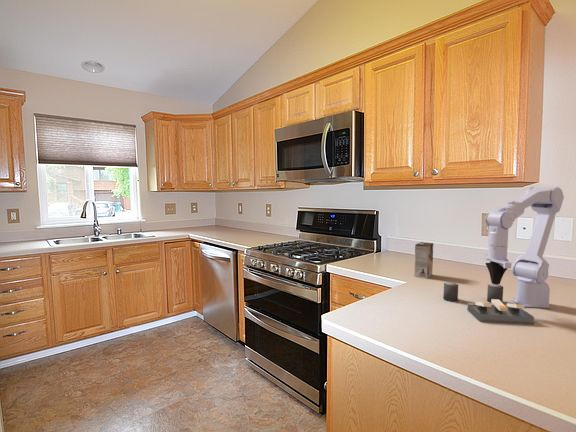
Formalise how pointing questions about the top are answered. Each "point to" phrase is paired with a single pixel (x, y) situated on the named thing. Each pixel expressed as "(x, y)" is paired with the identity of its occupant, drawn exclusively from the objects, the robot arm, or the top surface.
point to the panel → (500, 314)
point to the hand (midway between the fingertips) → (495, 283)
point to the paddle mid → (499, 305)
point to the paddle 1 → (483, 304)
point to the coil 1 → (450, 292)
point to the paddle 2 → (515, 305)
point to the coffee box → (423, 260)
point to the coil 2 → (495, 292)
